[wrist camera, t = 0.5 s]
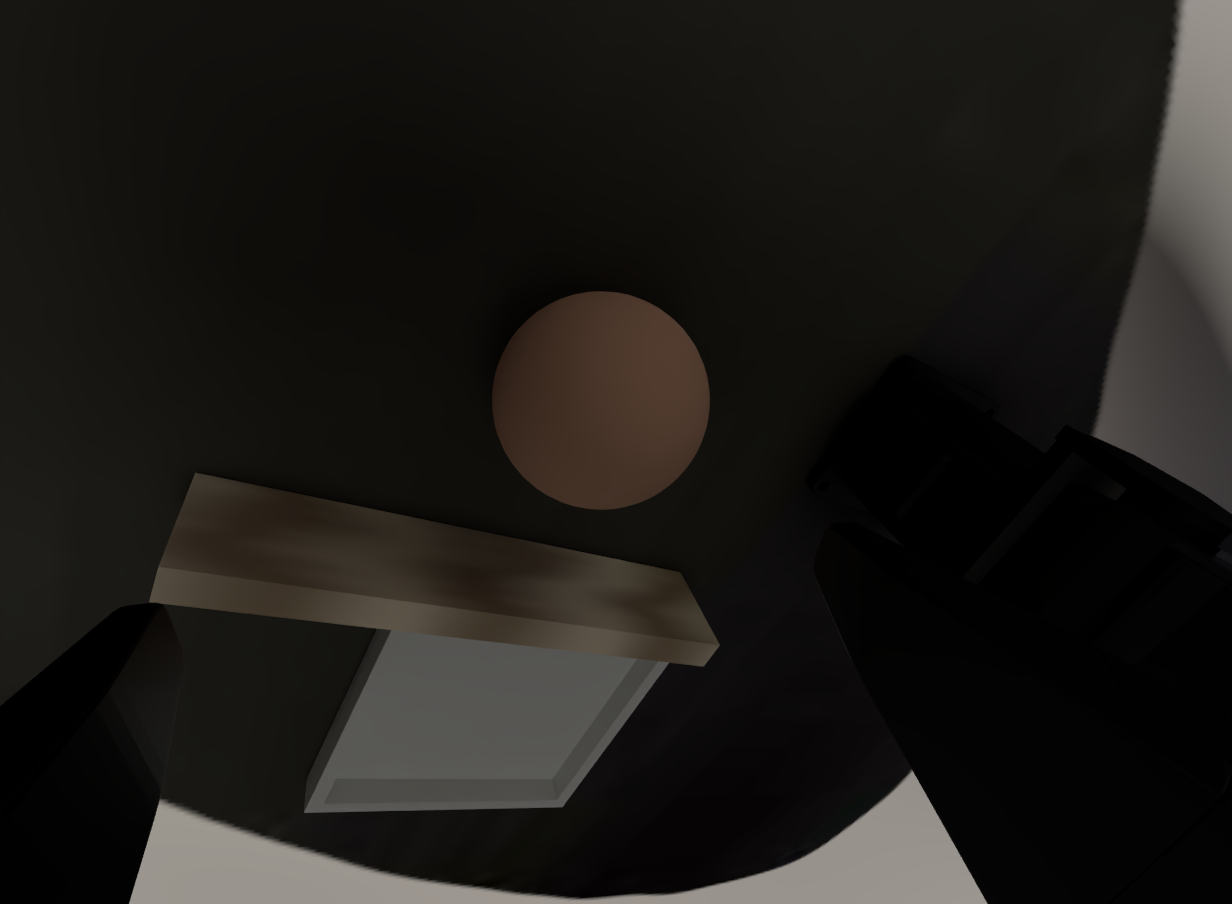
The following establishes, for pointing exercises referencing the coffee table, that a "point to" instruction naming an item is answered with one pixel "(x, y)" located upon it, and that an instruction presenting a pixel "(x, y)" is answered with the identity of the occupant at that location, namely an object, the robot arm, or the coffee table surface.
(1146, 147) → the coffee table surface
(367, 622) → the rail
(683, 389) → the ball
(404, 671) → the coaster tray
